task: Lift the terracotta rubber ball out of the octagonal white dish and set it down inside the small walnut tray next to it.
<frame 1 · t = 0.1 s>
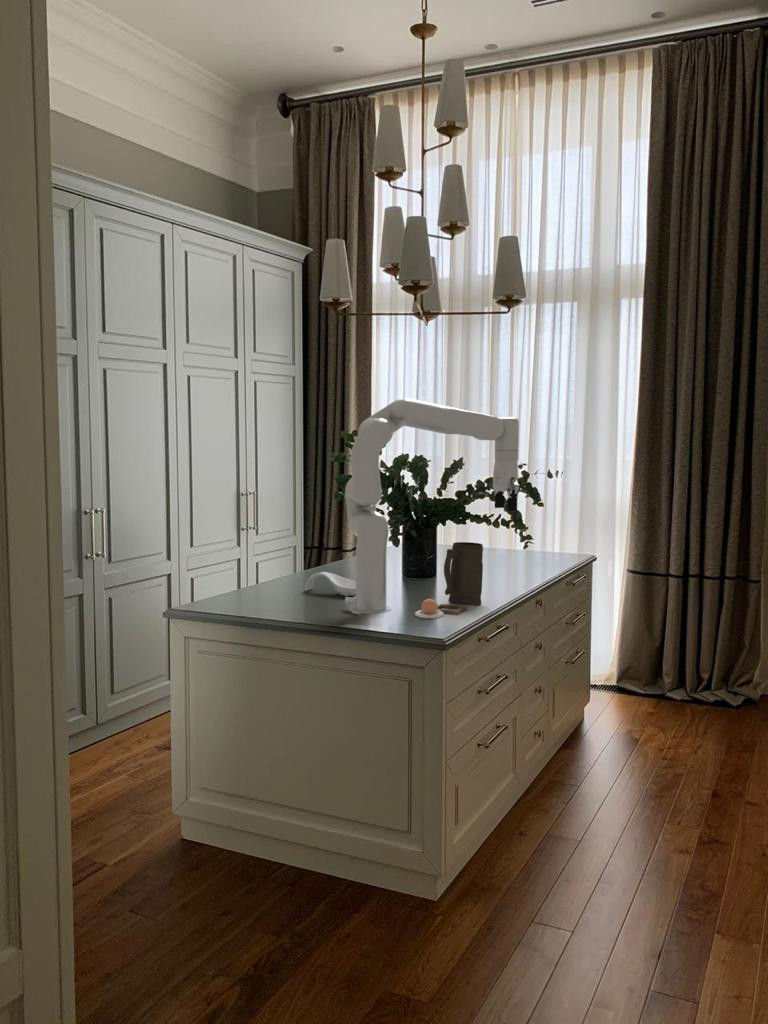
hand: (505, 509, 296), 31 cm above the table, tool pointing down, fingers open, 9 cm apart
beer stein: (462, 605, 298), on the table
ball: (429, 615, 276), point 1 cm above the table, touching octagonal white dish
spoon rest: (336, 594, 317), on the table
tray: (448, 613, 284), on the table
octagonal white dish: (429, 618, 277), on the table
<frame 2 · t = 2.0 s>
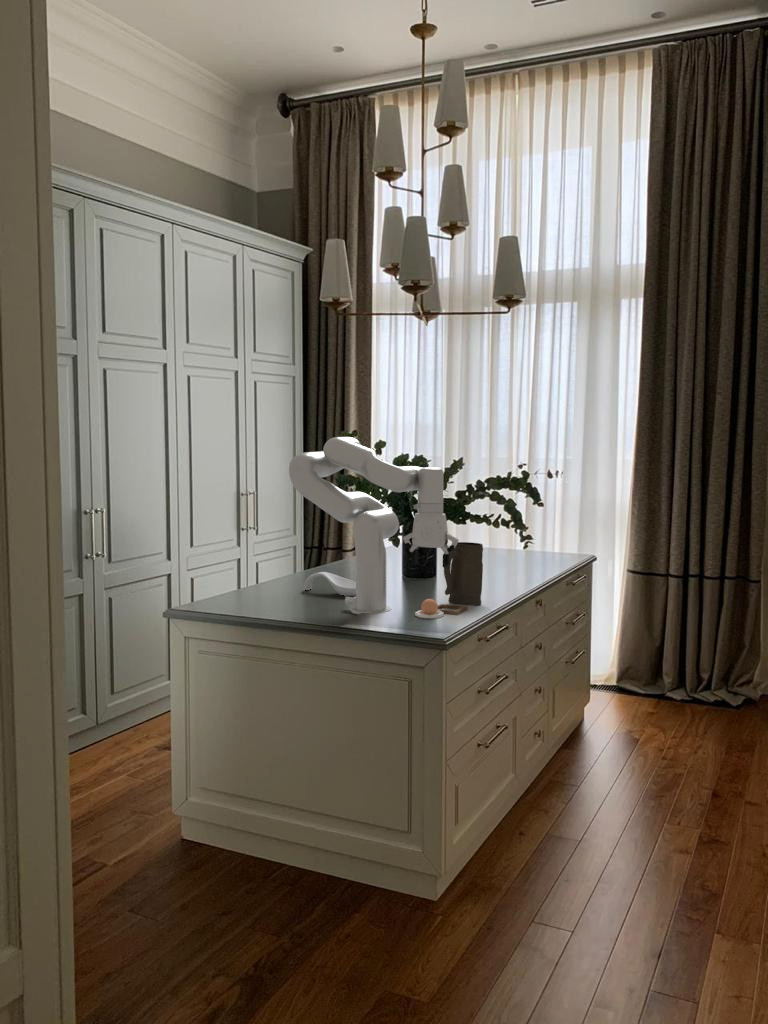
hand: (430, 565, 275), 16 cm above the table, tool pointing down, fingers open, 9 cm apart
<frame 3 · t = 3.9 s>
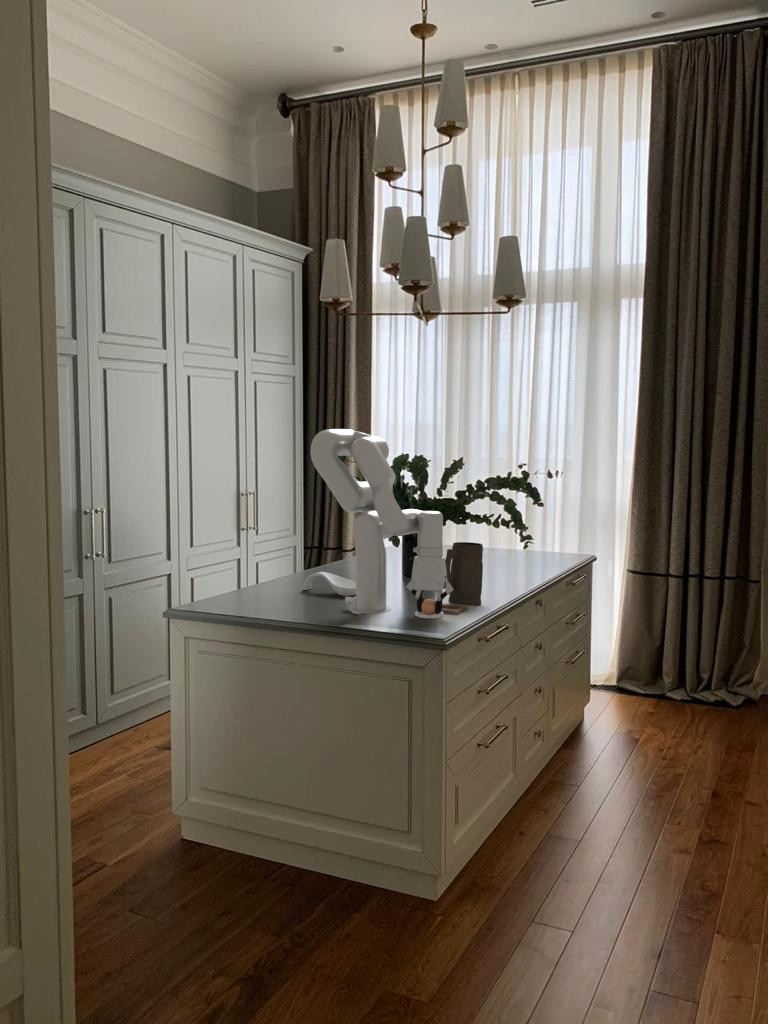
hand: (429, 611, 276), 2 cm above the table, tool pointing down, fingers closed on ball, 4 cm apart
ball: (429, 615, 276), point 1 cm above the table, touching octagonal white dish, gripper
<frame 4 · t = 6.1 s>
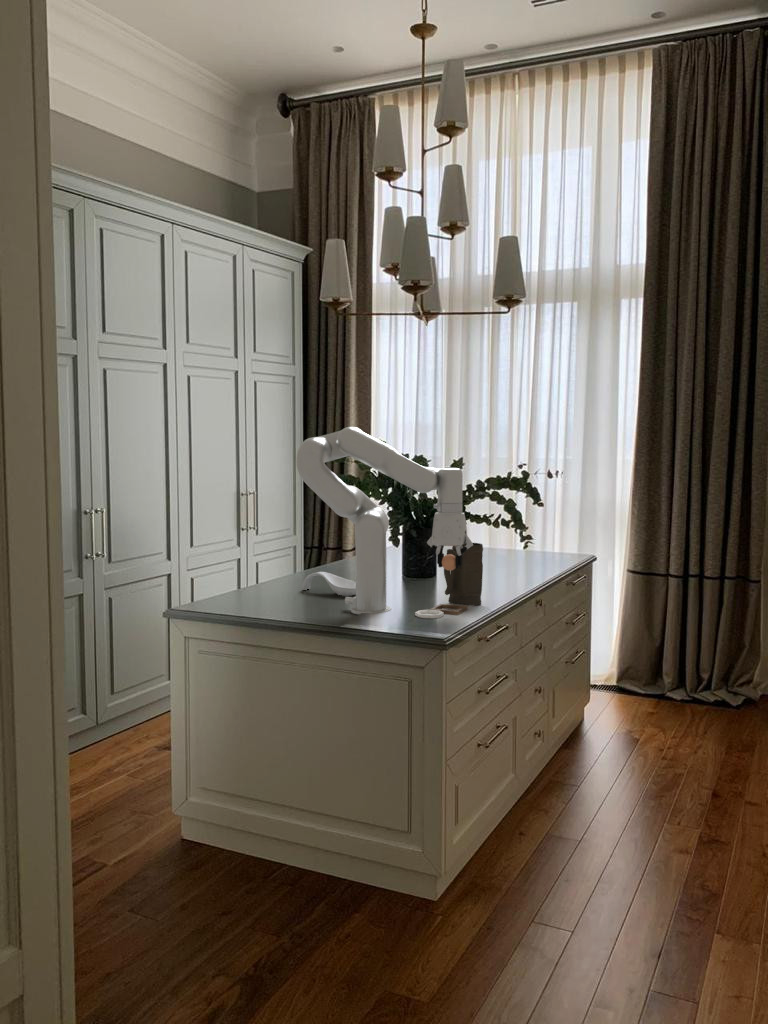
hand: (449, 566, 282), 15 cm above the table, tool pointing down, fingers closed on ball, 4 cm apart
ball: (449, 570, 282), point 14 cm above the table, touching gripper
when the fingers open (4 cm above the table, at t = 8.4 s): ball drops 2 cm, resting on tray.
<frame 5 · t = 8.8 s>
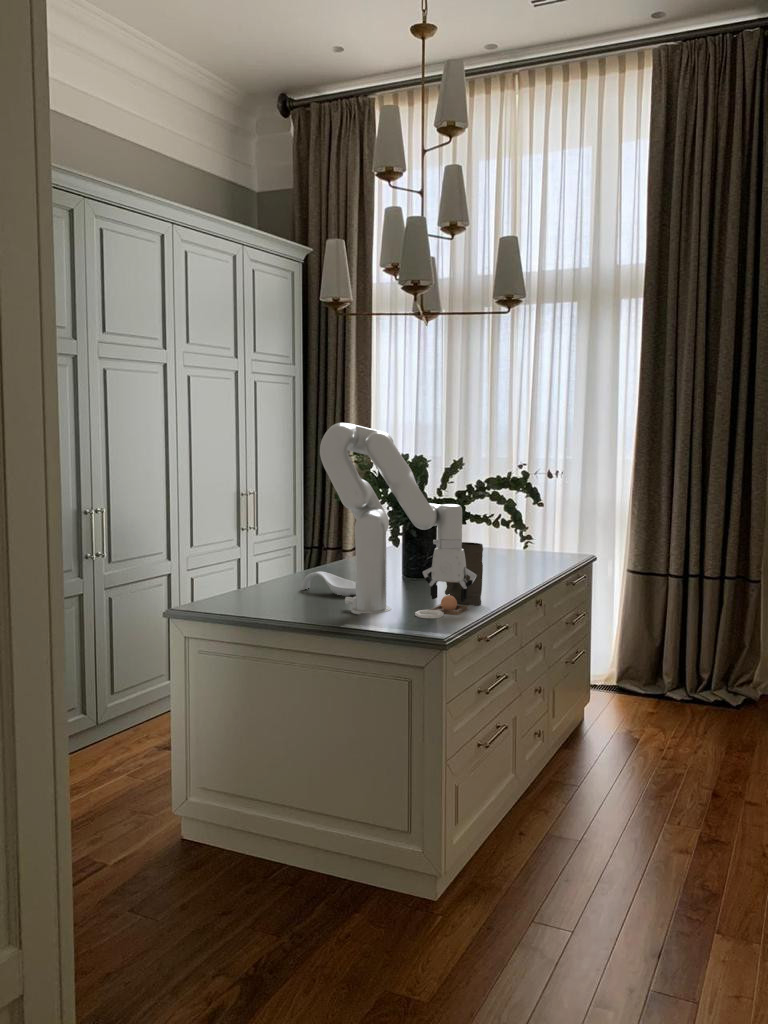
hand: (449, 599, 283), 4 cm above the table, tool pointing down, fingers open, 9 cm apart
ball: (448, 611, 283), point 1 cm above the table, touching tray
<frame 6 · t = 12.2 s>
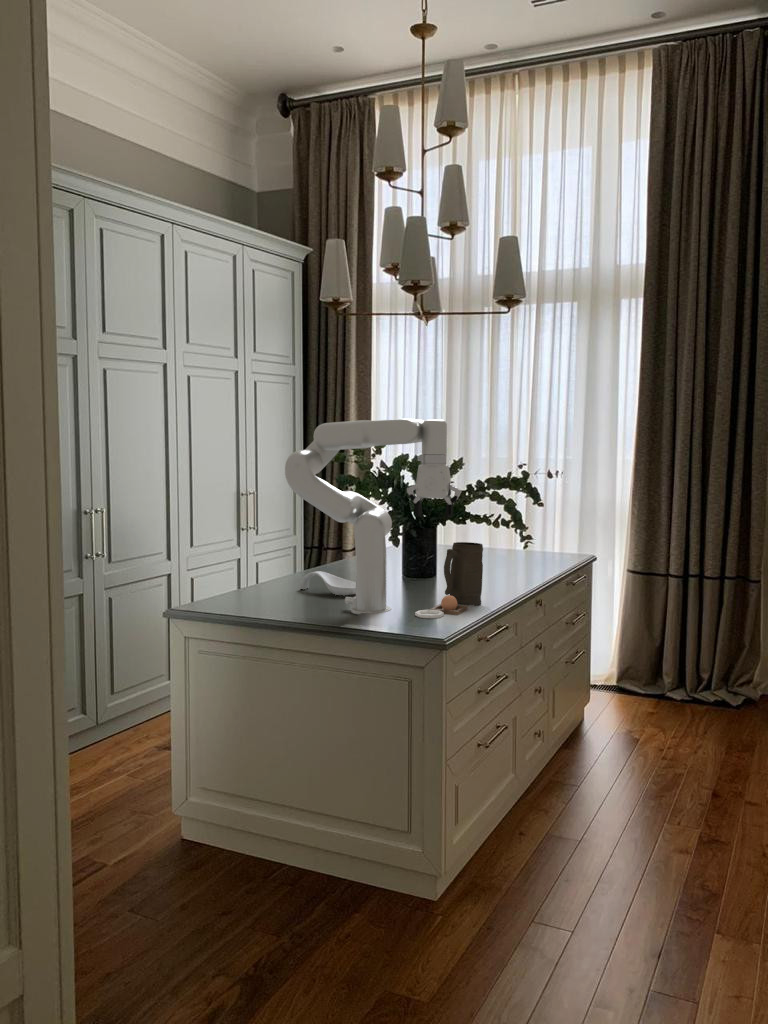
hand: (433, 516, 279), 30 cm above the table, tool pointing down, fingers open, 9 cm apart
at the end: ball 0.0 cm off-centre on the tray, point 0.8 cm above the tray's base; the gripper is holding nothing; ball touching tray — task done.
